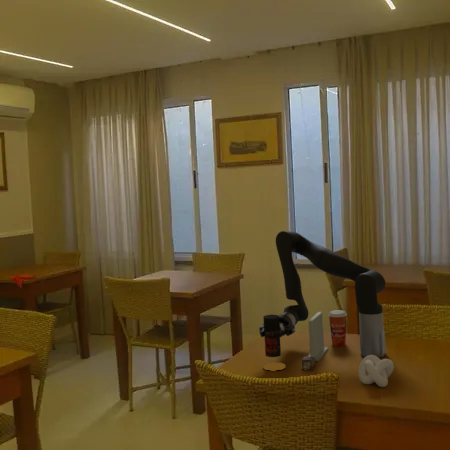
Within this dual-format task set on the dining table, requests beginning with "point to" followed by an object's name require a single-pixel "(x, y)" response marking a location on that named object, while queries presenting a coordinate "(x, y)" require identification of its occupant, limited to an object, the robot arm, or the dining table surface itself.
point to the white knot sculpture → (375, 370)
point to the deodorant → (271, 336)
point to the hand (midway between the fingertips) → (269, 335)
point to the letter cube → (308, 363)
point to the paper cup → (338, 327)
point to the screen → (316, 337)
